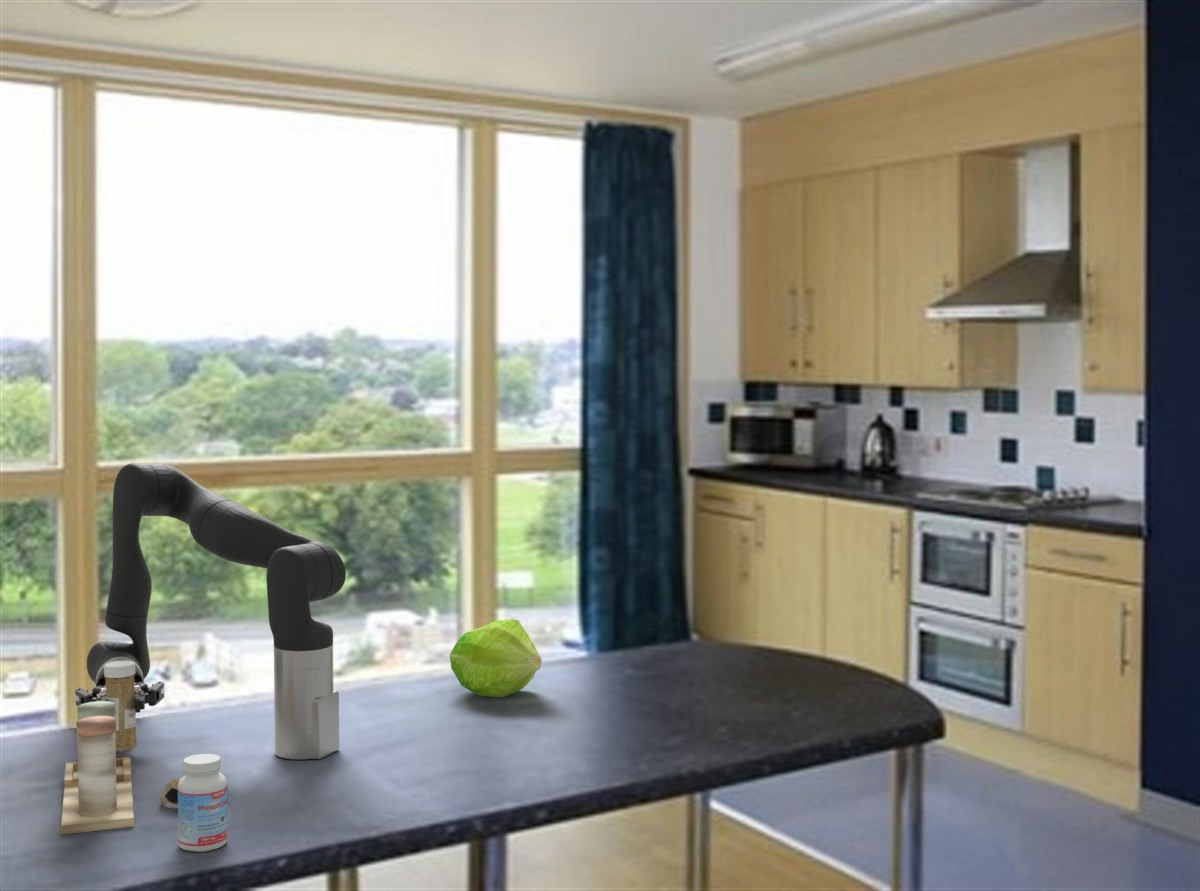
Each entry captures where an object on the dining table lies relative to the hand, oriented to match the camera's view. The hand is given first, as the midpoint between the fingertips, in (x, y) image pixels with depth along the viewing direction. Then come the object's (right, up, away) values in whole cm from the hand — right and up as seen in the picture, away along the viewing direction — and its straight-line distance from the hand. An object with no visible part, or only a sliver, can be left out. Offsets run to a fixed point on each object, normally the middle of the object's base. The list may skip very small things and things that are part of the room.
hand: (121, 707), depth 204 cm
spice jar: (-1, -7, +3) cm, 8 cm away
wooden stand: (+3, -10, -17) cm, 20 cm away
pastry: (+16, -10, -17) cm, 26 cm away
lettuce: (+55, -7, +44) cm, 70 cm away
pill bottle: (+23, -11, -34) cm, 42 cm away
